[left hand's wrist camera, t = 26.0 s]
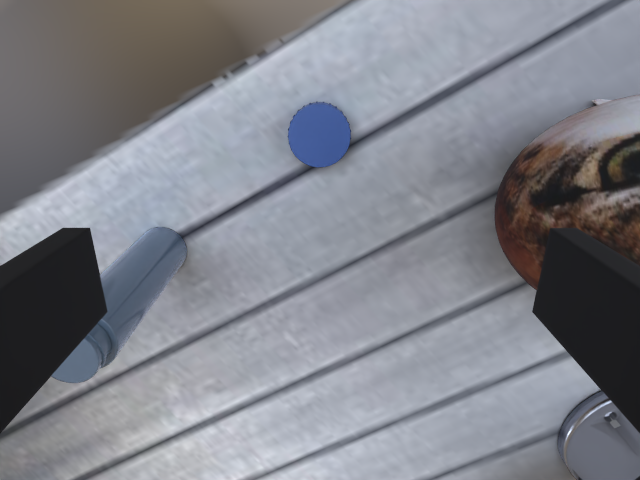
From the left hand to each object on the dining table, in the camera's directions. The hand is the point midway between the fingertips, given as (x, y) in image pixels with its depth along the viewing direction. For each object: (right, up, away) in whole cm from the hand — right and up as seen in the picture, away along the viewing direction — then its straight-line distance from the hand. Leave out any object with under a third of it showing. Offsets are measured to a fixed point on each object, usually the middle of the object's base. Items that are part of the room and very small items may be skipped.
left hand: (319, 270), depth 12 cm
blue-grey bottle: (-16, 0, +30) cm, 34 cm away
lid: (0, +10, +24) cm, 26 cm away
